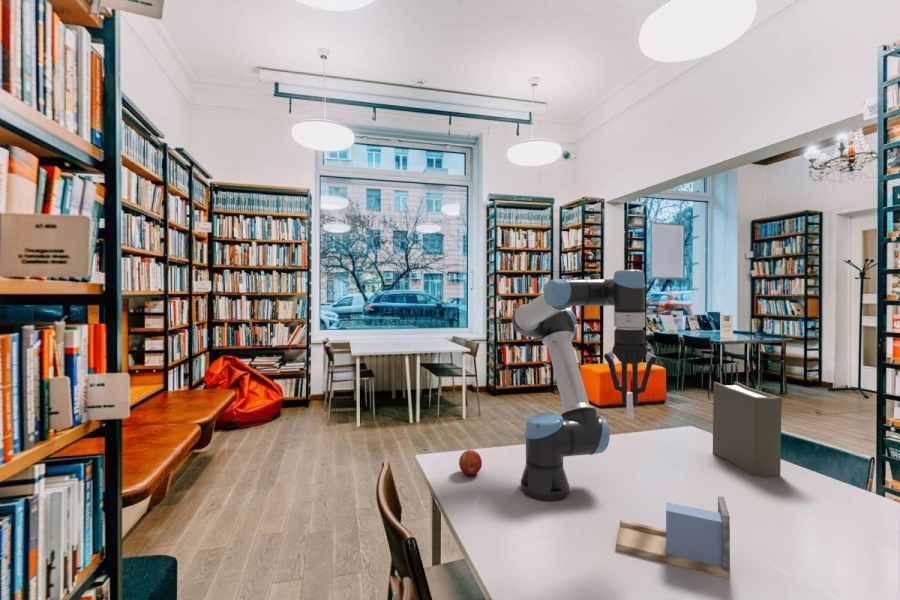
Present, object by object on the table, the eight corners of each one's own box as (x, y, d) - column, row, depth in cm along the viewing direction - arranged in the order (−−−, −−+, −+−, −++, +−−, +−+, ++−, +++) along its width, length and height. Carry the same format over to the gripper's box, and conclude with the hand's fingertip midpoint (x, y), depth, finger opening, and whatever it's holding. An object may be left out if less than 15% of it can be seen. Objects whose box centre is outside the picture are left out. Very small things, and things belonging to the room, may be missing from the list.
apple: (483, 470, 147) (482, 447, 146) (480, 480, 138) (480, 456, 138) (460, 468, 148) (460, 446, 148) (457, 478, 140) (457, 455, 140)
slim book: (666, 553, 96) (665, 510, 96) (666, 543, 100) (666, 502, 100) (722, 567, 91) (722, 522, 91) (720, 556, 95) (720, 512, 95)
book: (782, 478, 139) (783, 396, 138) (755, 479, 139) (756, 396, 138) (736, 452, 161) (737, 381, 160) (712, 453, 160) (713, 382, 159)
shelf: (616, 549, 100) (615, 494, 100) (620, 528, 109) (619, 478, 109) (730, 578, 89) (729, 516, 89) (724, 553, 98) (723, 496, 98)
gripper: (601, 328, 108) (602, 418, 108) (656, 330, 102) (657, 425, 102) (605, 326, 115) (605, 411, 115) (657, 328, 109) (657, 417, 109)
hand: (630, 417), depth 109 cm, fingers closed
